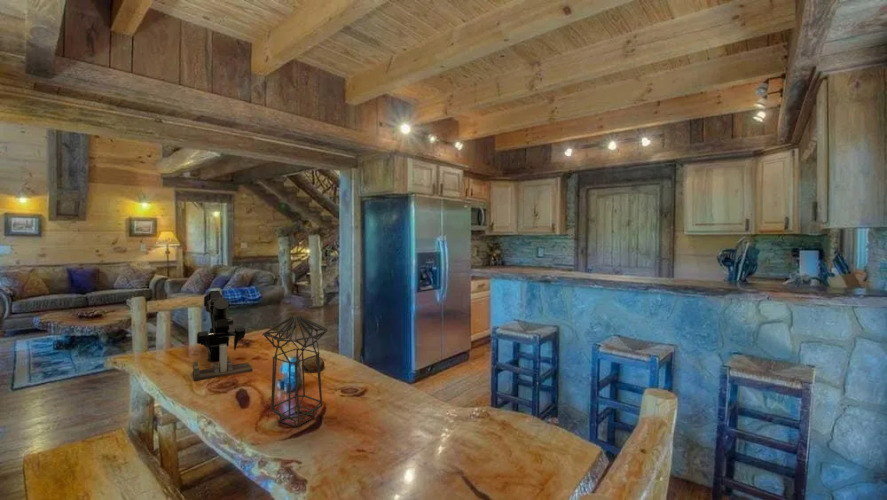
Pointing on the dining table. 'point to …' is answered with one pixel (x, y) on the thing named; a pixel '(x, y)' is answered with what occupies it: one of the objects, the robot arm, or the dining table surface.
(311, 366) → the brown rough lump
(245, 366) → the stand
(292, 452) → the dining table surface
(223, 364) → the rectangular block
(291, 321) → the geometric lantern
